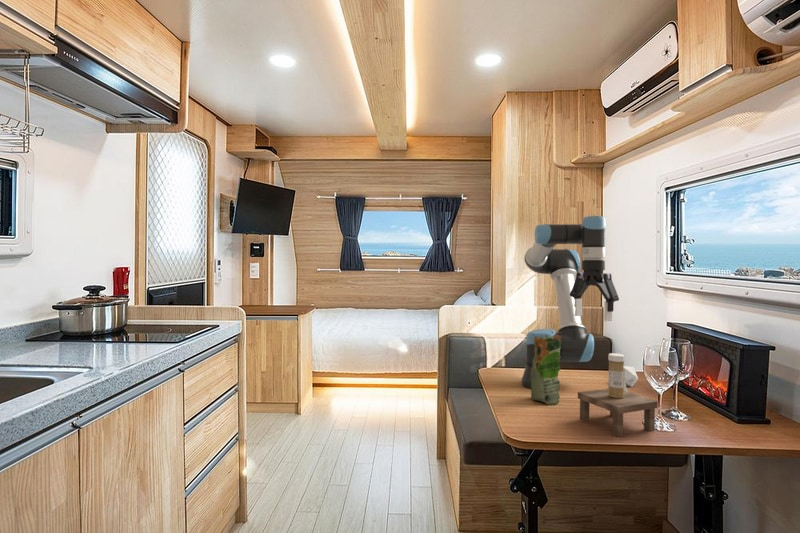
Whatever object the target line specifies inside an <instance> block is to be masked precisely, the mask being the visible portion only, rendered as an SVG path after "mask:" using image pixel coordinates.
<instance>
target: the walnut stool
mask: <svg viewBox="0 0 800 533" xmlns="http://www.w3.org/2000/svg"><path fill="white" fill-rule="evenodd" d="M627 391H628V390H627ZM627 391H624V398H613V397H610V396H609V395H608V394H609V387H608V388H600V389H592V390H585V391H578V392H577V399H579V420H580V421H581V422H583V423H587V422H590V404H592V405H594V406H596V407H599V408H601V409H605V411H609V416H611V417H612V426H611V427H612V430H611V431H612V435H613V436H614V437H617V438H620V437H624V414H627V413H634V412H640V411H643V414H644V415H643V430H646V431H648V432H652V431H655V424H656V423H655V422H656V421H655V417H656V415H655V409H658V401H657V400H654V399H651V398H648V397H646V396H642V395H639V394H636V393H632V392H629V391H628V392H627Z"/></svg>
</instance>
